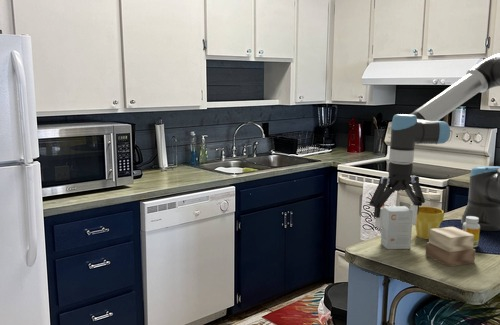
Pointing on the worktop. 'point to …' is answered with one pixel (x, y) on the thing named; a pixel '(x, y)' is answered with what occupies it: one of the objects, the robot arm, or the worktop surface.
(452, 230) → the maple slab
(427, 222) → the plant pot
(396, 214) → the small box
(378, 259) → the worktop surface
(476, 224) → the supplement bottle
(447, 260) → the walnut slab
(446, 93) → the robot arm
